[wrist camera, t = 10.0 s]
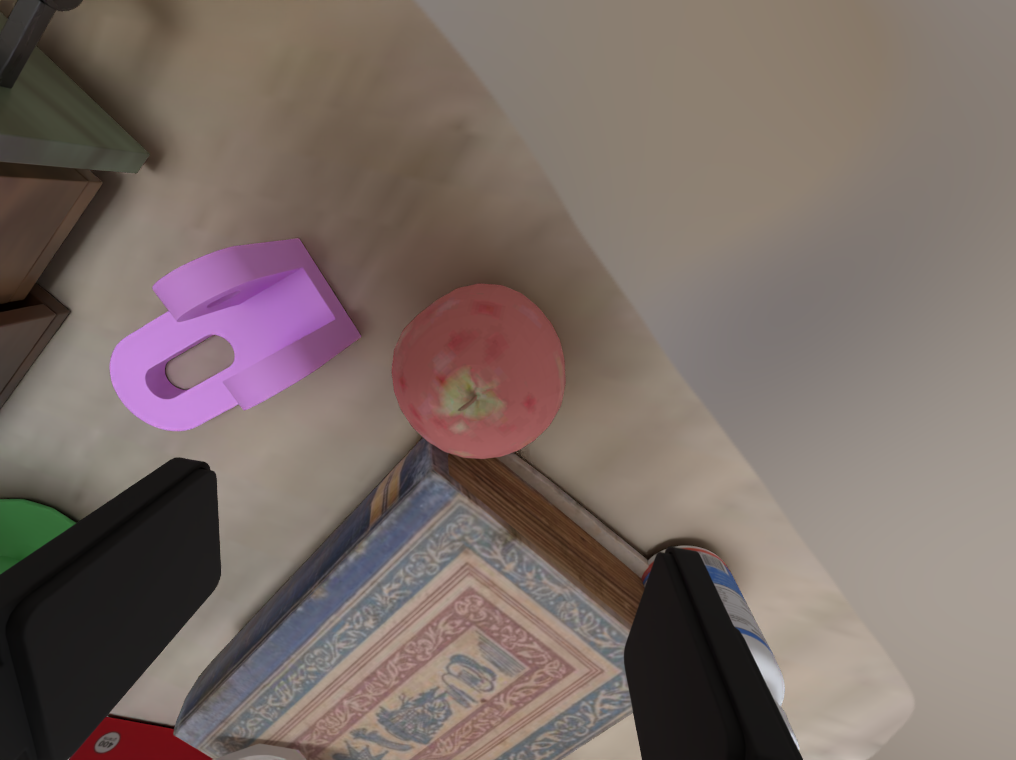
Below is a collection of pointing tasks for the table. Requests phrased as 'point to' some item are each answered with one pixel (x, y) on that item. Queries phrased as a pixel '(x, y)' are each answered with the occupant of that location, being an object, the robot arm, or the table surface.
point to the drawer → (46, 148)
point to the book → (435, 627)
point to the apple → (479, 372)
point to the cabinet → (26, 334)
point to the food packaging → (135, 743)
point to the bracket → (232, 332)
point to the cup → (27, 529)
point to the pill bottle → (741, 623)
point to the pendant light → (264, 753)
